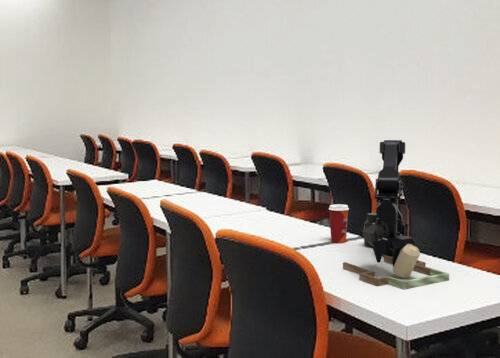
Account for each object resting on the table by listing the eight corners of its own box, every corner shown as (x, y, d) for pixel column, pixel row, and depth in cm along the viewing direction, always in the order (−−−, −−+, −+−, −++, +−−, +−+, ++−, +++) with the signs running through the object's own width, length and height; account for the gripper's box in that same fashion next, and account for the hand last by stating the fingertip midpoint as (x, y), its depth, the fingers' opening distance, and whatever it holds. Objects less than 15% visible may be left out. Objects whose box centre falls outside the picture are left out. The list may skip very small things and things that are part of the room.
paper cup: (350, 243, 244) (350, 207, 242) (329, 244, 244) (329, 207, 242) (347, 239, 252) (347, 203, 250) (327, 239, 252) (327, 203, 250)
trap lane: (394, 259, 218) (394, 253, 218) (458, 278, 195) (458, 271, 194) (332, 270, 205) (332, 264, 205) (393, 291, 182) (393, 284, 181)
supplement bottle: (373, 243, 244) (373, 211, 243) (386, 246, 239) (387, 214, 237) (360, 245, 240) (360, 213, 239) (373, 249, 235) (373, 216, 233)
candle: (411, 271, 199) (423, 245, 194) (408, 280, 194) (420, 255, 189) (394, 264, 200) (405, 238, 195) (391, 273, 195) (402, 247, 190)
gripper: (348, 213, 205) (347, 261, 207) (388, 223, 189) (387, 275, 191) (375, 210, 210) (374, 257, 212) (417, 219, 194) (415, 270, 196)
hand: (386, 265), depth 203 cm, fingers open, 7 cm apart
